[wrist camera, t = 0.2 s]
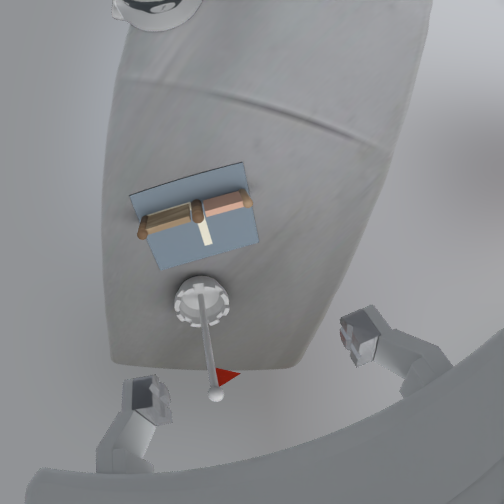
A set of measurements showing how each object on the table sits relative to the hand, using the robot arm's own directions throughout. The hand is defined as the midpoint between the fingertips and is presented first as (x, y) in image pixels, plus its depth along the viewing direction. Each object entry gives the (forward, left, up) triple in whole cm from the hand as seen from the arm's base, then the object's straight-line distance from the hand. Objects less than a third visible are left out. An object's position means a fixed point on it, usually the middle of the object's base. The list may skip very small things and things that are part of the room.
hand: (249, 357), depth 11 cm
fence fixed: (+12, -9, -47) cm, 49 cm away
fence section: (+12, +3, -46) cm, 48 cm away
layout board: (+16, -4, -47) cm, 50 cm away
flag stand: (+35, -9, -47) cm, 60 cm away
